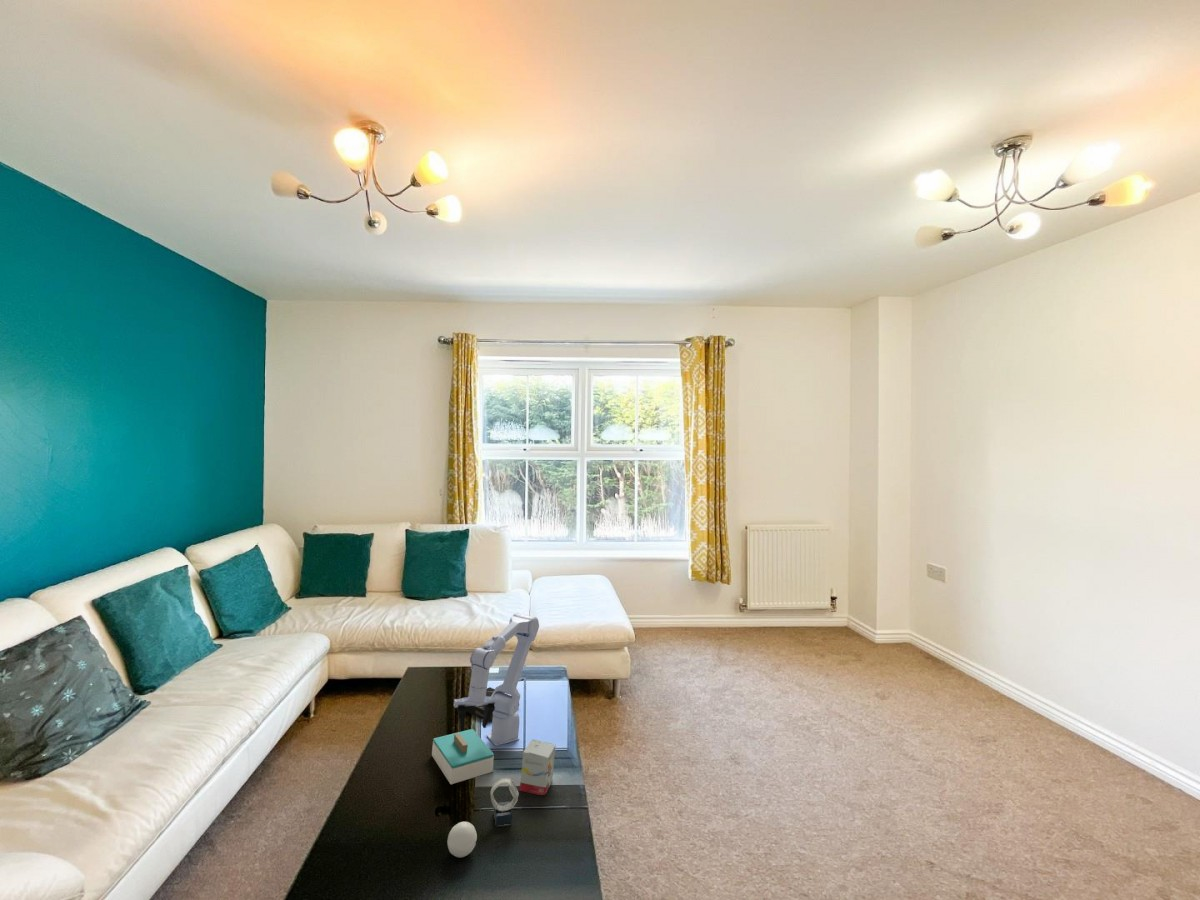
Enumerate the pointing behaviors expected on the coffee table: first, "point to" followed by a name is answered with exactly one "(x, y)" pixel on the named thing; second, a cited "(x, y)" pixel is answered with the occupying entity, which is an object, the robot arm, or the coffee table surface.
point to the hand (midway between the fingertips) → (472, 727)
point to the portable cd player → (479, 710)
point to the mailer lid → (463, 748)
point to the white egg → (462, 839)
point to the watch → (504, 803)
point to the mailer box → (461, 767)
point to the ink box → (537, 767)
